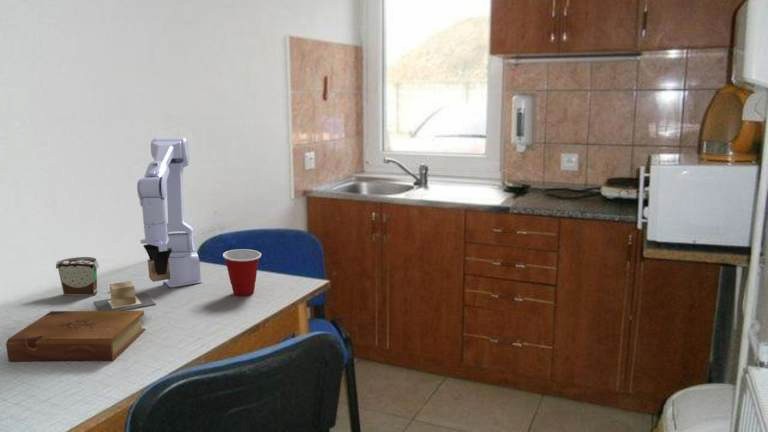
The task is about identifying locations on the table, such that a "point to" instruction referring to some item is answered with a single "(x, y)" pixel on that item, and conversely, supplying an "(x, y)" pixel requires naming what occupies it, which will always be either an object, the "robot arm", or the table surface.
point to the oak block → (122, 293)
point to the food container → (78, 275)
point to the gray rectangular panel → (141, 301)
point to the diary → (76, 336)
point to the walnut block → (153, 273)
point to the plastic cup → (242, 270)
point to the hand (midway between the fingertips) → (159, 272)
